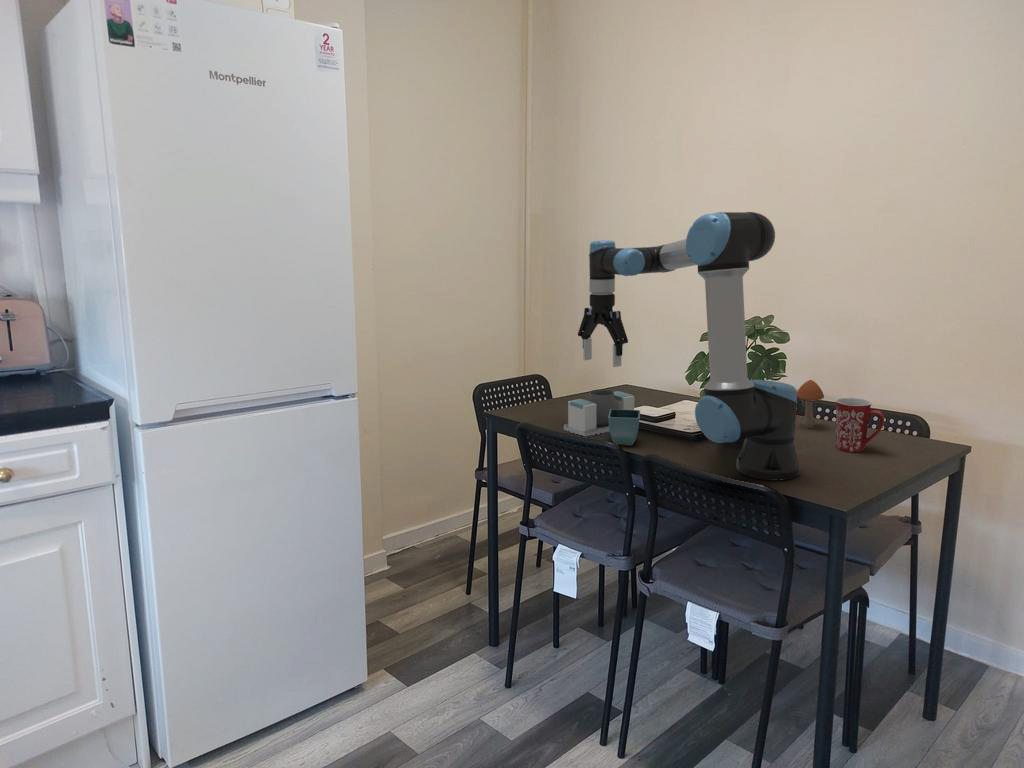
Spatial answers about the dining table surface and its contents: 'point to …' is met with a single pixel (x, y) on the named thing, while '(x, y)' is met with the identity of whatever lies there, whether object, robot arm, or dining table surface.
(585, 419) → the block
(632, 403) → the block
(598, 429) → the grey flat slab
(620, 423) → the flower pot
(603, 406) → the cup
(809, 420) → the mushroom
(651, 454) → the dining table surface
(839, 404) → the mug
